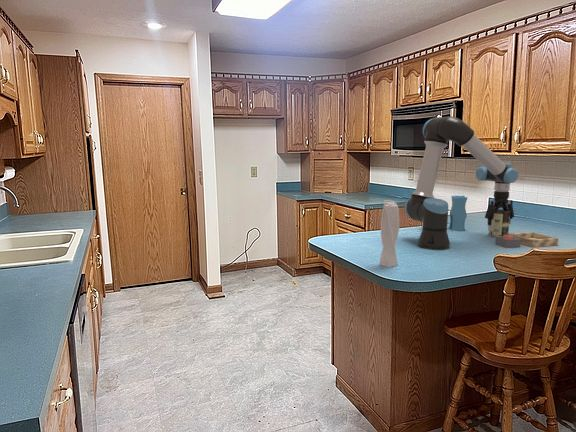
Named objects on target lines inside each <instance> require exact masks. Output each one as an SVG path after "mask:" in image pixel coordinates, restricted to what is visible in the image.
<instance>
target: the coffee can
mask: <svg viewBox="0 0 576 432" xmlns="http://www.w3.org/2000/svg"><path fill="white" fill-rule="evenodd" d="M492 212H494V217H493V219H492V220H493V231H487V232H488V234H487V235H488V236H491V237H495V238H496V237H497V236H504V235H505V234H507V235H508V234H509V231H510V224H509V220H510V211H504V210H503V209H502V208H499V209H498V210H497V211H492Z"/></svg>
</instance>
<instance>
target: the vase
mask: <svg viewBox="0 0 576 432" xmlns="http://www.w3.org/2000/svg"><path fill="white" fill-rule="evenodd" d="M468 198H469V197H468V196H465V195H451V207H450V209H449V218H450V219H449V221H450V224H449V226H448V229H451V232H455V231H456V232H457V231H458V232H466V229H465V228H466V227H465V222H466V219H467V210H466V206H467V205H466V204H467V201H468Z"/></svg>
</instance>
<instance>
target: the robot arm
mask: <svg viewBox="0 0 576 432" xmlns="http://www.w3.org/2000/svg"><path fill="white" fill-rule="evenodd" d="M422 135H423V138H424V140H423V142H424V144H425V149H424V153H423V158H422V162H421V166H420V170H419V174H418V180H417V184H416V187H415V191H413V192H411V196H410V198H408V199H407V200H406V202H405V204H404V212H405V214H406V216H407V217H408V218H410V219H412V220H413V221H416V222H420V223H422V227H421V228H422V229H421V233H420V235H419V237H418V240H417V246H418V247H420V248H423V249H428V250H437V251H438V250H447V249H450V245H451V243H450V239H449V238H450V237H449V235H448V219H449V218H448V217H449V212H450V209H449V203H448V202H447V201H446V200H444V199H441V198H436V197H435V196H434V195H433V194H434V188H435V184H436V181H437V177H438V173H439V168H440V164H441V159H442V156H443V155H442V154H443V151H444V149H445V148H446V147H447V146H448V144H449V141H450V142H454V144H456V145H457V146H458V147H462V148H464V149H465V150H466V151H467V152H468V153H469V154H470V155H471V156H473V157H474V158H475V160H477V161H478V162H479V163H480V164H481V165H483V166H480V167H477V169H476V170H475V177H476V180H478V181H483V182H485V181H487V182H494V187H493V188H494V192H493V200H489V201H488V206H487V209H486V212H485V215H484V218H485V219H486V220H487V226H488V227H487V232H489V231H493V220H492V219H493V217H494V212H492V211H497V210H498V209H502V210H504V211H510V220H509V225H511V220H512V219H513V218H515V213H514V208H513V207H514V206H513V204H514V203H513V202H514V201H513V200H512V199H509V198H510V187H511V184H513V183H515V182H517V180H518V179H519V172H518V170H517V169H516V168H513V167H512V163H510V162H503V161H502V160H501V158H499V157H498V156H497V154H495V152H493V151H492V150H491V149H490V148H489V147H488V146H487V145H486V144H485V143H484V142H483V141H482V140H481V139H479V137H477V135H475V130H474V129H472V128H471V127H470V126H469V125H468V124H467V123H466V122H464V121H463V120H461V119H460V118H458V117H457V116H456V117H455V116H443V117H442V116H440V117H437V116H436V117H432V118H430V119H429V120H426V122H425V123H424V125H423V126H422Z"/></svg>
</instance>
